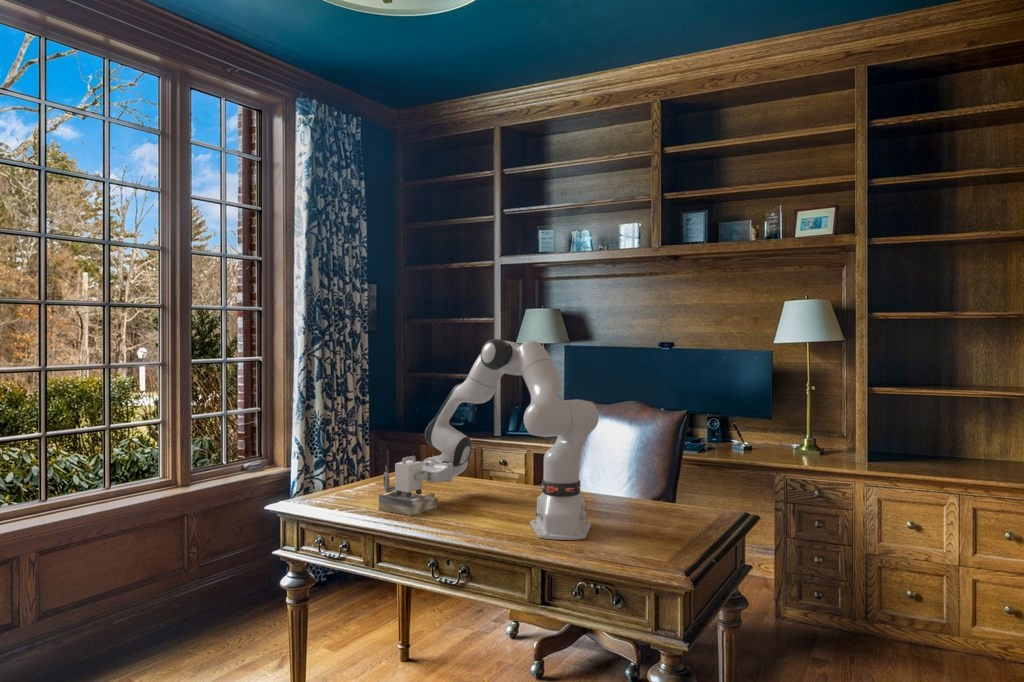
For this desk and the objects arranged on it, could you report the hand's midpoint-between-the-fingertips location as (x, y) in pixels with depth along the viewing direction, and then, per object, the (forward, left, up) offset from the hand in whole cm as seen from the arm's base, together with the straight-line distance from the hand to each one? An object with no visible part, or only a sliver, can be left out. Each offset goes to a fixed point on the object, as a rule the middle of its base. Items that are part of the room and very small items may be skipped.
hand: (407, 476), depth 230 cm
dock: (+1, 0, -11) cm, 11 cm away
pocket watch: (+25, +10, -11) cm, 29 cm away
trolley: (+1, 0, -6) cm, 7 cm away
